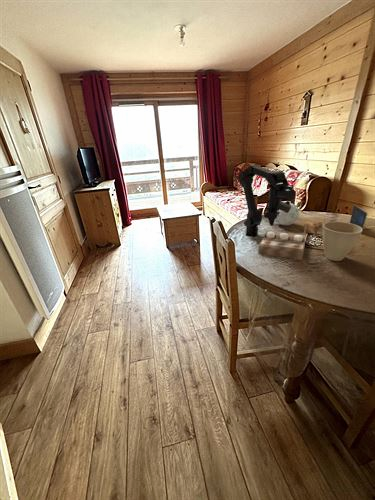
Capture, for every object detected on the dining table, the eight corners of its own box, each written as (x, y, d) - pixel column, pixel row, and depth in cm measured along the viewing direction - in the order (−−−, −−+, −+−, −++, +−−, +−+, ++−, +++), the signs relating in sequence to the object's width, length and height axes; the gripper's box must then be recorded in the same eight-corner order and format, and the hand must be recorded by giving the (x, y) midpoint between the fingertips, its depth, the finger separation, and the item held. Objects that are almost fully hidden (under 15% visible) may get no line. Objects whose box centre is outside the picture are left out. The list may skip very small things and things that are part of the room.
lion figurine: (325, 235, 127) (328, 221, 123) (320, 238, 125) (323, 223, 121) (301, 229, 138) (304, 216, 134) (296, 231, 136) (299, 218, 132)
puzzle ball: (271, 226, 146) (273, 205, 139) (275, 220, 157) (278, 199, 151) (295, 229, 139) (299, 207, 132) (298, 222, 150) (302, 201, 143)
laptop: (328, 223, 144) (332, 204, 138) (349, 224, 141) (355, 204, 135) (336, 234, 129) (342, 213, 123) (361, 234, 126) (368, 213, 120)
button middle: (278, 241, 118) (279, 235, 117) (279, 238, 122) (280, 232, 120) (287, 242, 116) (288, 236, 115) (288, 239, 120) (289, 233, 118)
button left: (265, 239, 122) (266, 234, 120) (267, 236, 125) (267, 231, 124) (273, 240, 120) (274, 234, 118) (275, 237, 123) (275, 232, 122)
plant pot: (338, 268, 96) (347, 235, 89) (309, 255, 109) (315, 225, 101) (360, 259, 101) (370, 228, 94) (330, 248, 113) (337, 219, 106)
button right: (292, 243, 115) (293, 237, 114) (293, 240, 119) (294, 234, 117) (301, 244, 113) (302, 238, 112) (302, 241, 117) (303, 235, 115)
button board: (258, 253, 115) (258, 244, 112) (266, 237, 131) (267, 230, 129) (302, 260, 105) (303, 251, 103) (304, 242, 122) (306, 234, 120)
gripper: (289, 202, 101) (285, 233, 108) (293, 193, 115) (289, 221, 122) (264, 201, 106) (262, 230, 113) (271, 193, 120) (269, 219, 127)
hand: (271, 225), depth 119 cm, fingers closed
